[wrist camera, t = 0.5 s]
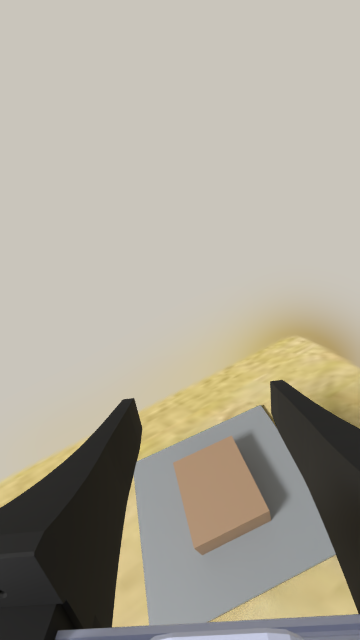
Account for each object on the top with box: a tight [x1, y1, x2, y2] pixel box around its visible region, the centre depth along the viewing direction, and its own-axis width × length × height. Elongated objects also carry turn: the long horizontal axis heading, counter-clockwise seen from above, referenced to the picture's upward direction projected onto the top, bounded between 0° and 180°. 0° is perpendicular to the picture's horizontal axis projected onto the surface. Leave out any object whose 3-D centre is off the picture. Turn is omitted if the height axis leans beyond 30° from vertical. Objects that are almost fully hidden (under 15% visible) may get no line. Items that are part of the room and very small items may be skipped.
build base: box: [134, 405, 336, 626], centre depth 23 cm, size 14×18×4 cm
